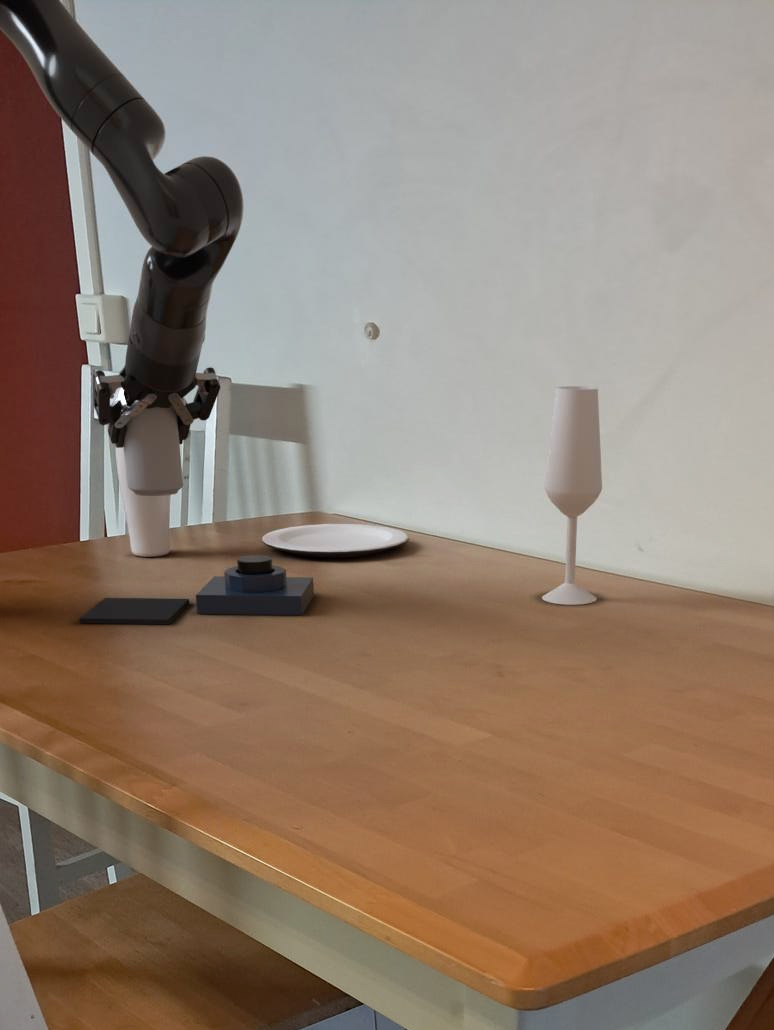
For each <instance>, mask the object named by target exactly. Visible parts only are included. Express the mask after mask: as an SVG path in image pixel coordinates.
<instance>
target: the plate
mask: <svg viewBox="0 0 774 1030" xmlns="http://www.w3.org/2000/svg"><path fill="white" fill-rule="evenodd" d="M409 539H410V537H409V535H408V533H406V532H404V531H402V530H400V529H396V528H392V527H389V526H388V527H387V526H380V525H375V524H374V525H373V524H361V523H323V524H320V523H319V524H305V525H298V526H290V527H285V528H280V529H276V530H272V531H270V532H268V533H266V534H264V535H263V536H262V539H261V543H263V544H264V545H266V546H267V547H268V548H272V549H275V550H279V551H283V552H286V553H289V554H292V555H298V556H303V557H312V558H326V559H328V558H329V559H330V558H335V559H336V558H355V557H363V556H370V555H374V554H375V555H376V554H379V553H382V552H385V551H387V550H390V549H394V548H397V547H398V548H399V547H401V546H403V545H405V544H406V543H407V542H408V541H409Z"/></svg>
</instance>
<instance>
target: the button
mask: <svg viewBox="0 0 774 1030" xmlns="http://www.w3.org/2000/svg"><path fill="white" fill-rule="evenodd" d="M236 565H237V567H238V573H239V574H245V575H259V574H268V573H272V572H273V571H272V565H273V558H272V557H270V556H268V555H245V556H240V557H238V558H237V559H236Z"/></svg>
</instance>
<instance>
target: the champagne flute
mask: <svg viewBox="0 0 774 1030" xmlns="http://www.w3.org/2000/svg"><path fill="white" fill-rule="evenodd" d="M553 403H554V404H553V411H552V421H551V429H550V437H549V438H550V439H549V445H548V454H547V456H548V457H547V463H546V472H545V481H544V491H545V493H546V495H547V497H548V499H549V500H550V502H551V503H552V504H553V505H554V506H555V507H556V509H557V510H559V512H560V513H561V514H563V515H564V516H566V518H567V519H566V543H565V568H564V569H565V571H564V572H565V573H564V583H562V584H560V585H559V586H556V587H555V588H554V589H552V590H550V591H549V592H547V593H545V594H544V595H542V596H541V599H542V600H543V601H544V602H547V603H551V604H555V605H568V606H569V605H570V606H575V605H576V606H577V605H586V604H591V603H595V602H596V601H597V597H596V596H595V595H593V594H592V593H590V592H589V591H588V590H586V589H584V588H583V587H581V586H580V585H579V584H577V583H576V560H577V559H576V557H577V535H578V532H577V531H578V517H579V516H581V515H582V514H584V513H585V512H586V511H587V510H588V509H589V508H591V506H592V505H594V504H595V502H596V501H597V499H598V498H599V497H600V495H601V493H602V490H603V475H602V457H601V456H602V453H601V431H600V428H601V427H600V407H599V406H600V405H599V388H598V387H594V386H581V385H580V386H579V385H578V386H573V385H572V386H571V385H569V386H556V388H555V393H554V402H553Z"/></svg>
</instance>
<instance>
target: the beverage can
mask: <svg viewBox="0 0 774 1030" xmlns="http://www.w3.org/2000/svg"><path fill="white" fill-rule="evenodd" d="M121 388H122V387H120V389H121ZM121 411H123V409H122V410H121ZM180 445H181V444H180V443H179V432H178V421H177V412H176V410H175V409H174V407H173V405H172V406H170V408H160V407H155V408H150V409H144V410H143V411H142V412H141V413H140V414H139V415H138V417H137V418H133V417H132V418H131V419H130V420H129V421H128V423H127V424H126V433H125V439H124V445H123V446H124V456H125V465H126V475H127V484H128V488H129V489H130V490H132V491H133V492H134V493H135V494H136V495H141V496H166V495H169V496H172V495H177V494H178V493H179V491H180V490H181V489H182V488H183V487H184V479H183V468H182V455H181V446H180Z"/></svg>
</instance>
